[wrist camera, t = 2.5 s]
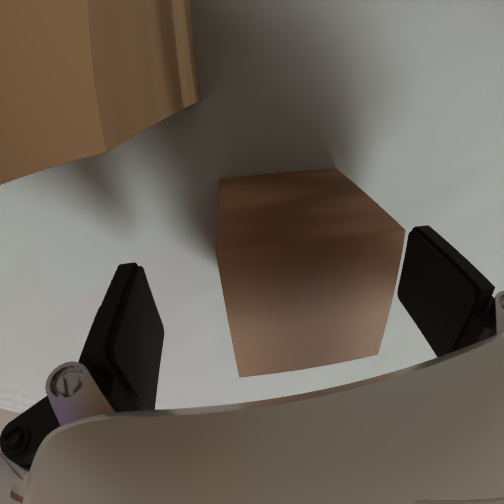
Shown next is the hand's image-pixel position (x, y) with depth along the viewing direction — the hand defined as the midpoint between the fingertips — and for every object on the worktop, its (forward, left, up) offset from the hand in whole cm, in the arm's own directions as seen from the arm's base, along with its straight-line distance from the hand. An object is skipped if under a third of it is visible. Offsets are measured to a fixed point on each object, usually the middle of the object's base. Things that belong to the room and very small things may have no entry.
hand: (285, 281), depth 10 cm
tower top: (+5, -9, +1) cm, 10 cm away
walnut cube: (-1, 0, -4) cm, 4 cm away
